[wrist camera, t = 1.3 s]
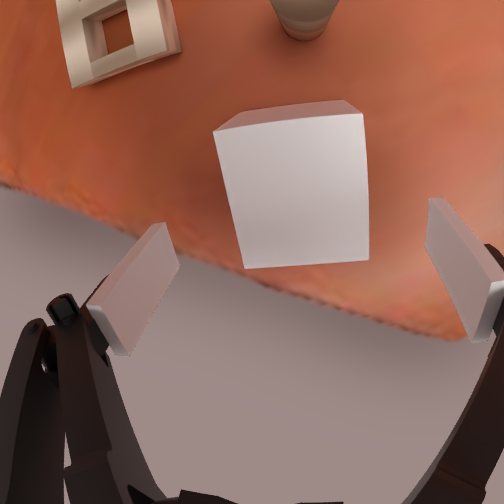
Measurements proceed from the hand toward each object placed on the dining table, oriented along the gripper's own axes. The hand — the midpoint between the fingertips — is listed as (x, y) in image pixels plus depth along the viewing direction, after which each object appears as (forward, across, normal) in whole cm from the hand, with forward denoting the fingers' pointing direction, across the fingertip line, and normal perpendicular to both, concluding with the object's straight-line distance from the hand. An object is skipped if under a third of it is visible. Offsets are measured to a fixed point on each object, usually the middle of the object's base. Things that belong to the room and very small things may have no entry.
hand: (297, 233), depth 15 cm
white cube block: (+11, 0, 0) cm, 11 cm away
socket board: (+11, -12, +18) cm, 24 cm away
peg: (+11, +2, +12) cm, 16 cm away
